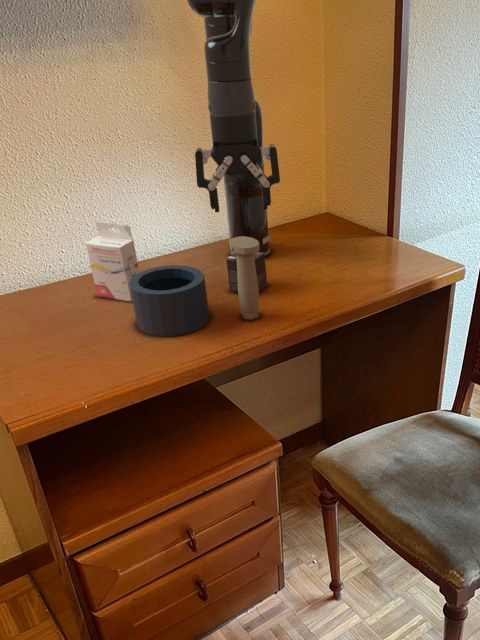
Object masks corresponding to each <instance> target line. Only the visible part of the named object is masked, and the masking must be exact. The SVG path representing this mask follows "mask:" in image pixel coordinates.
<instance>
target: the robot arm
mask: <svg viewBox="0 0 480 640" xmlns="http://www.w3.org/2000/svg"><path fill="white" fill-rule="evenodd" d="M186 3H187V4H188V7H189V8H190V9H191V11H192V12H193V13H194V14H195V15H196V16H198V17H200V18H203V22H204V33H205V42H204V46H203V50H204V51H203V52H204V61H205V68H206V77H207V78H206V79H207V108H208V112H209V121H210V131H211V140H212V141H211V142H212V147H211V149H202V148H201V147H197V148H196V149H195V151H194V152H195V153H194V159H195V173H196V175H195V176H196V186H197V187H198V188H199V189H206V190H207V191H208V196H209V204H210V208H211V210H214V212H215V213H220V202H219V194H218V187H217V186H218V184H219V183H220V181H221V180H223V187H224V198H225V207H226V208H225V209H226V217H227V227H228V237H229V240H230V239H232V238H235V237H241V236H245V237H251V238H254V239H256V240H257V241H258V242H259V247H260V250H259V251H258V252H264V253H265V257H267V256H268V255H270V253H271V248H270V241H271V240H272V238H271V237H272V235H271V234H269V221H268V207H269V206H270V207H271V205H272V197H271V196H272V195H271V187H272V186H273V185H275V184H279V183H280V182H281V176H280V168H279V167H280V166H279V158H278V149H277V147H276V144H274V143H271V144H269V145H267V146H264V119H263V112H262V108H261V105H260V103H259V101H257V100H256V99H255V92H254V91H255V90H254V86H253V81H252V80H253V79H252V69H251V67H252V66H251V55H250V54H251V53H250V45H251V44H250V43H251V42H250V39H251V36H252V32H253V17H254V10H255V6H256V0H186ZM264 157H265V158H264ZM209 158H211V159H212V160H213V161H214V163H215V164H216V165H217V166H216V168H215V170H214V172H213V174H212V176H211V177H210V178H209V179H207V178H205V164H207V163H208V160H209ZM265 160H266V161H270V170H271V175H269V176H267V174H265ZM222 178H223V179H222ZM233 254H234V253H233V252H232V251H231V249H230V256H231V255H233Z"/></svg>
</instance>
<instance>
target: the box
mask: <svg viewBox="0 0 480 640" xmlns="http://www.w3.org/2000/svg"><path fill="white" fill-rule="evenodd" d="M225 260H226V261H225V262H226V269H227V277H228V285H229V291H230V292H233V293H238V278H237V258H236V254H233V255H231V254H230V256H228V257H227V258H226V259H225ZM254 260H255V268H256V275H257V282H258V290H259V292H260V291H261V290H262V289H264V288H265V287H266V286H267V285H268V280H267V279H268V277H267V268H266V256H265V253H264V252H257V253H255V254H254Z"/></svg>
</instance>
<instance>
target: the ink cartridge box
mask: <svg viewBox="0 0 480 640" xmlns="http://www.w3.org/2000/svg"><path fill="white" fill-rule="evenodd" d="M95 225H96V230H97V232H98V235H97V236H96V237H93V238H92V239H90V240H88V241H86V242H85V246H86V252H87V255H88V260H89V263H90V264H89V265H90V270H91V273H92V277H93V282H94V286H95V292H96V296H97V297H99V298H106V299H113V300H117V301H118V300H119V301H125V302H133V301H132V296H131V292H130V287H129V282H130V279H131V278H132V277H133V276H135V275H136V274H138V273H140V268H139V263H138V257H137V252H136V247H135V242H134V241H135V240H134V239H133V236H132V232H131V226H129V225H128V224H123V223H116V222H108V221H107V222H106V221H95ZM112 228H114V229H115V230H119V231H114V230H109V229H112Z"/></svg>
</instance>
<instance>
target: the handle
mask: <svg viewBox="0 0 480 640" xmlns="http://www.w3.org/2000/svg"><path fill="white" fill-rule="evenodd" d="M228 243H229V249H230V250H231V251H232V252H233V253H234V254H236V258H237V278H238V292H237V293H238V301H239V302H238V303H239V307H240V310H241V311H242V312H241V315H242V318H243V319H244V320H248V321H249V320H250V321H252V320H255V319H258V317H259V309H260V291H259V290H258V282H257V275H256V268H255V260H254V254H255V253H257V252H258V251H259V250H260V247H259V242H258V241H257V240H256V239H254V238H251V237H245V236H241V237H235V238H232V239H230V238H229V240H228Z"/></svg>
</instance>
